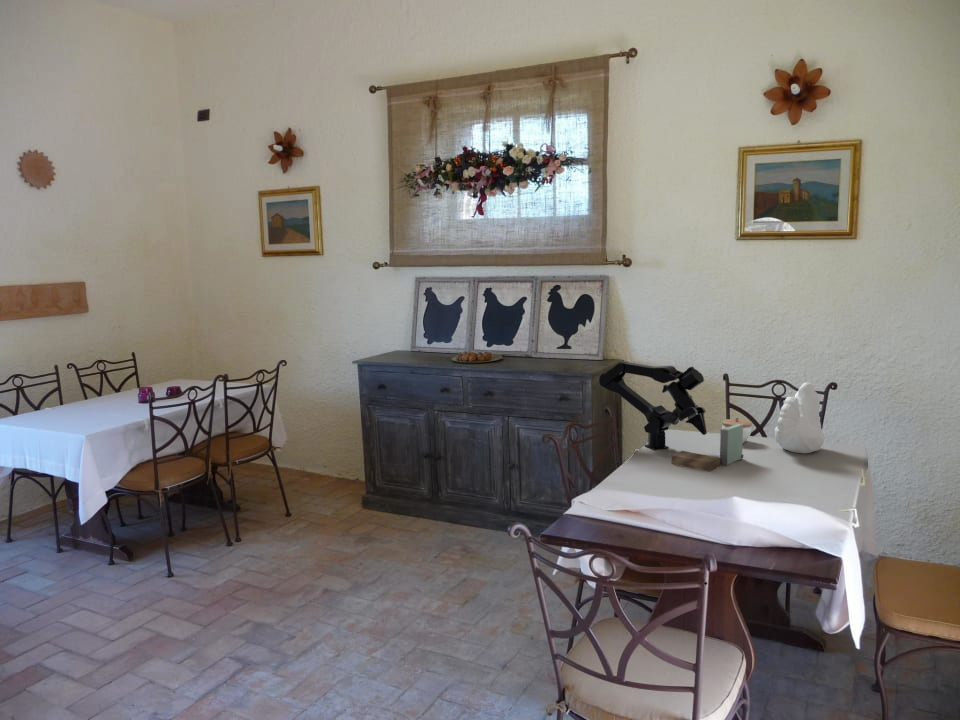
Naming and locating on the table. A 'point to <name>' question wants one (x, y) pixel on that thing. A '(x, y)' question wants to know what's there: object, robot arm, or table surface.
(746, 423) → the lidded jar
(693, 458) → the stool seat
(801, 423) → the decorative rooster
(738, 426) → the green rectangular panel
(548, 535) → the table surface
